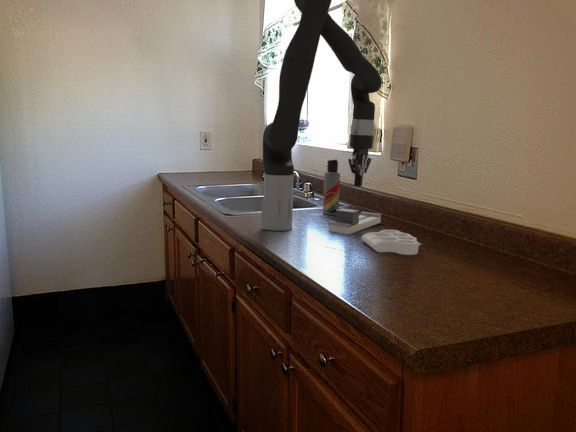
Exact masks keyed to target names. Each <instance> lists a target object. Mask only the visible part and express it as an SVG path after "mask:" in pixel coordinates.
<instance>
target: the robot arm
mask: <svg viewBox="0 0 576 432" xmlns="http://www.w3.org/2000/svg"><path fill="white" fill-rule="evenodd" d="M293 1H294V5H295V7H296V9H298V11H299V12H300V13H301V15H300V20H299V23H298V27H297V29H296V31H295V32H294V34H293V36H292V38H291V39H290V42H289V43H288V45H287V48H286V50H285V52H284V55H283V59H282V63H281V67H280V72H279V78H278V79H279V82H278V103H277V108H276V110H275V111H276V112H275V115H274V118H273V121H271V122H270V123H269V124H268V125H266V127H265V129H264V131H263V134H262V164H263V198H262V199H261V226H260V227H261V229H262V230H266V231H267V230H268V231H271V232H272V231H273V232H281V231H283V232H284V231H290V230H292V229H293V213H294V212H293V206H294V181H295V180H294V175H295V167H294V163H293V158H292V157H293V155H292V153H293V152H292V149H293V148H294V147H295V146H296V144H297V141H298V135H299V127H300V121H301V114H302V109H303V105H304V102H305V99H306V95H307V91H308V88H309V85H310V81H311V77H312V73H313V68H314V64H315V59H316V56H317V51H318V48H319V43H320V39H321V37H322V39H323V40H324V41H325V42H326V44H327V45H328V46H329V47H330V49H331V51H332V52H333V54H334V56H336V58H337V60H338V61H339V63H340V65H341V66H342V68H343V70H345V71H346V72H349V73H352V75H353V76H352V78H351V81H350V82H351V83H350V93H351V100H352V104H353V109H352V120H351V124H350V125H351V127H350V128H351V129H350V137H349V147H350V148H351V149H353V150H352V156H351V157H350V158H348V160H347V161H348V165H349V167H350V172H351V174H353V175H354V181H353V182H354V187H358V188H360V187H362V186H363V178H364V177H363V176H364V175H365V174H366V173H367V172H368V169H369V167H370V165H371V162H372V158H371V157H369V150H372V149H373V148H374V137H375V136H374V133H375V116H376V115H375V114H376V113H375V112H376V104H375V103H374V102H372V101H371V99H370V94H374V93H376V92H379V90H380V89H381V87H382V77H381V74H380V72H379V71H378V69H376V67H375V66H374V65H373V64H372V63H371V62H370V61H369V60H368V59H367V58H366V57H365V56H364V55H363V53H362V52H361V50H360V48H359V47H358V45H357V43H356V42H355V41H354V38H352V37H351V36H350V34H349V33H348V32H346V30H344V29H343V28H342V27H341V26H340V25H339V24H338V23H337V22H336V21H335V20H334V18H333V17H332V16H331V15H330V14H329V10H330V8H331V7H330V6H331V4H332V0H293Z"/></svg>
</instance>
